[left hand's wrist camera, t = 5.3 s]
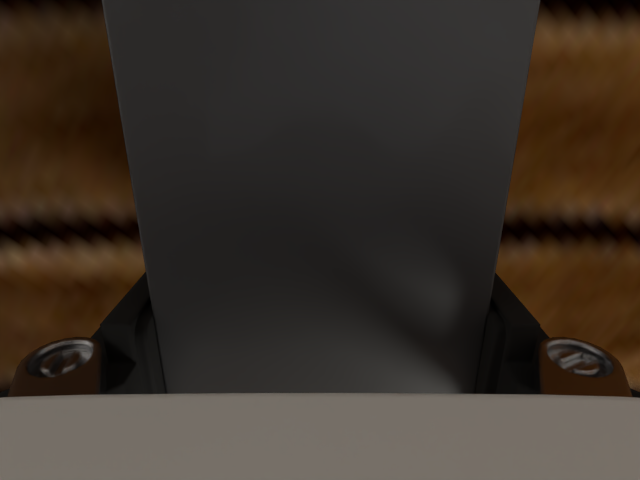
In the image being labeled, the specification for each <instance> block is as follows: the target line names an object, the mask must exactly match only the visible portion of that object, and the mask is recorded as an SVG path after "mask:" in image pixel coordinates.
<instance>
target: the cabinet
mask: <svg viewBox="0 0 640 480" xmlns="http://www.w3.org/2000/svg"><path fill="white" fill-rule="evenodd" d="M539 4H540V0H102V5H103V11H104V17H105V24H106V30H107V36H108V42H109V48H110V54H111V60H112V66H113V73H114V79H115V85H116V91H117V97H118V103H119V109H120V115H121V122H122V128H123V134H124V140H125V146H126V152H127V158H128V164H129V171H130V177H131V183H132V189H133V195H134V201H135V207H136V213H137V220H138V226H139V232H140V238H141V244H142V250H143V256H144V262H145V269H146V275H147V281H148V287H149V293H150V299H151V305H152V311H153V317H154V324H155V330H156V336H157V342H158V348H159V354H160V360H161V366H162V373H163V379H164V385H165V391H166V394H204V393H424V394H475V389H476V383H477V377H478V371H479V365H480V359H481V353H482V347H483V341H484V335H485V329H486V322H487V316H488V312H489V306H490V300H491V294H492V288H493V282H494V276H495V270H496V264H497V258H498V252H499V246H500V240H501V234H502V228H503V222H504V216H505V210H506V204H507V197H508V191H509V185H510V179H511V173H512V167H513V161H514V155H515V149H516V143H517V137H518V131H519V125H520V119H521V113H522V107H523V101H524V95H525V89H526V83H527V77H528V71H529V65H530V59H531V53H532V46H533V40H534V34H535V28H536V22H537V16H538V10H539Z"/></svg>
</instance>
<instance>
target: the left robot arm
mask: <svg viewBox="0 0 640 480" xmlns="http://www.w3.org/2000/svg"><path fill="white" fill-rule="evenodd" d="M100 326H101V327H100V328H99V329H98V330H97V331H96V332H95V334H94V335H93V336H92V337H91V338H87V337H73V338H65V339H61V340H58V341H54V342H51V343H49V344H46V345H44V346H42V347H39V348H38V349H36V350H34V351H33V352H31V353H30V354H28V355H27V356H26V357H25V358H24V359H23V360H22V361H21V362H20V364H19V366H18V367H17V370H16V373H15V376H14V379H13V381H12V384H11V387H10V389H8V390H5V391H3V392H0V480H640V392H637V391H635V390H633V389H630V387H629V384H628V381H627V379H626V376H625V373H624V370H623V367H622V366H621V364H620V362H619V361H618V360H617V359H616V358H615V357H614V356H613V355H612V354H610V353H609V352H607V351H606V350H604V349H602V348H601V347H598V346H596V345H594V344H591V343H589V342H586V341H582V340H579V339H575V338H567V337H553V338H549V337H548V336H547V334H546V333H545V332H544V331H543V330H542V329H541V327H540V324H539V323H538V321H537V320H536V319H535V318H534V317H533V316H532V315H531V313H530V312H529V311H528V310H527V309H526V308H525V306H524V305H523V304H522V303H521V302H520V301H519V299H518V298H517V297H516V296H515V295H514V294H513V293H512V291H511V290H510V289H509V288H508V287H507V286H506V284H505V283H504V282H503V281H502V280H501V279H500V278H499V276H498V275H497V274H496V273H495V276H494V282H493V288H492V294H491V300H490V306H489V312H488V316H487V322H486V329H485V335H484V341H483V347H482V353H481V359H480V365H479V371H478V377H477V383H476V389H475V394H424V393H204V394H166V391H165V385H164V379H163V373H162V366H161V360H160V354H159V348H158V342H157V336H156V330H155V324H154V317H153V311H152V305H151V299H150V293H149V287H148V281H147V275H146V272H145V273H144V274H143V276H142V277H141V278H140V279H139V280H138V281H137V283H136V284H135V285H134V286H133V287H132V288H131V289H130V291H129V292H128V293H127V294H126V295H125V296H124V298H123V299H122V300H121V301H120V302H119V303H118V305H117V306H116V307H115V308H114V309H113V310H112V311H111V313H110V314H109V315H108V316H107V317H106V318H105V320H104V321H103V322H102V323H101V324H100Z"/></svg>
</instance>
